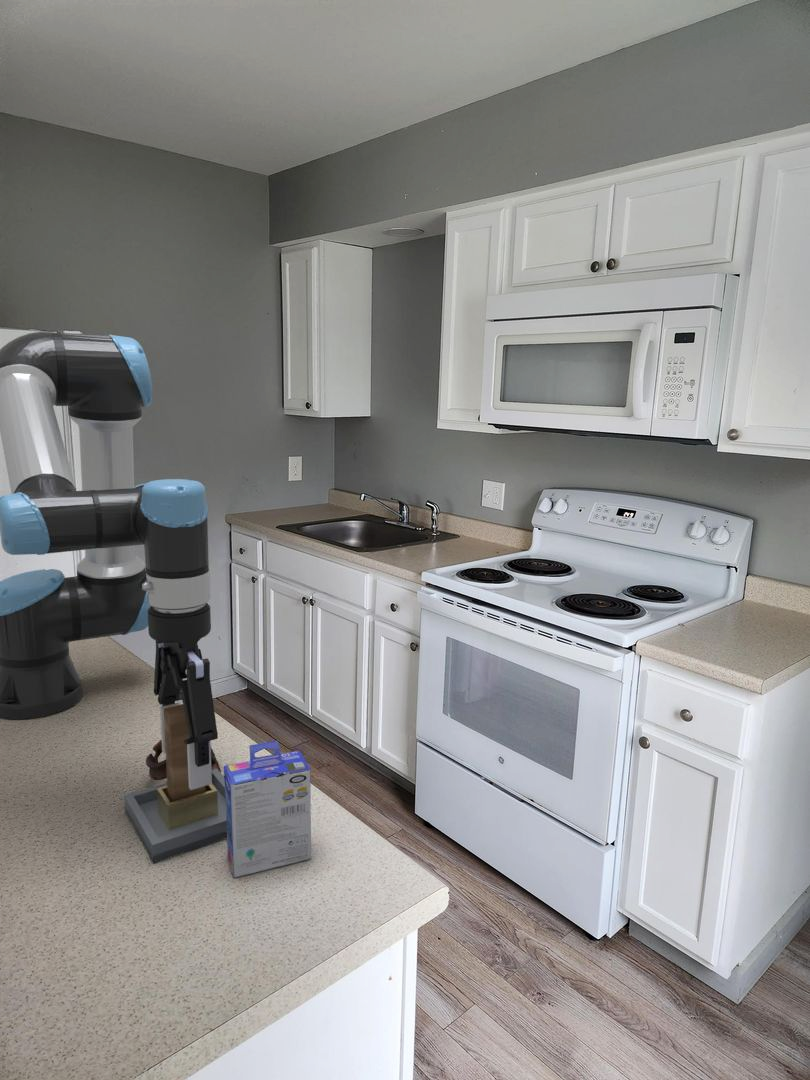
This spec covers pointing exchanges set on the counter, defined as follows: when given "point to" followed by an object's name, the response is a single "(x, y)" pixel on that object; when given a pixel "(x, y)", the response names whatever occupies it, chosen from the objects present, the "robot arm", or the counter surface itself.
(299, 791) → the ink cartridge box
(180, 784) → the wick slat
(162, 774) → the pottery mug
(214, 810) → the tan hollow wooden box
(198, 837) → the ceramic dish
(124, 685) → the counter surface
